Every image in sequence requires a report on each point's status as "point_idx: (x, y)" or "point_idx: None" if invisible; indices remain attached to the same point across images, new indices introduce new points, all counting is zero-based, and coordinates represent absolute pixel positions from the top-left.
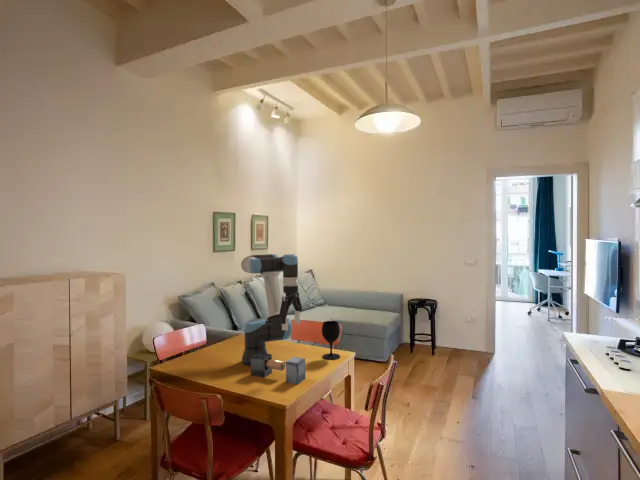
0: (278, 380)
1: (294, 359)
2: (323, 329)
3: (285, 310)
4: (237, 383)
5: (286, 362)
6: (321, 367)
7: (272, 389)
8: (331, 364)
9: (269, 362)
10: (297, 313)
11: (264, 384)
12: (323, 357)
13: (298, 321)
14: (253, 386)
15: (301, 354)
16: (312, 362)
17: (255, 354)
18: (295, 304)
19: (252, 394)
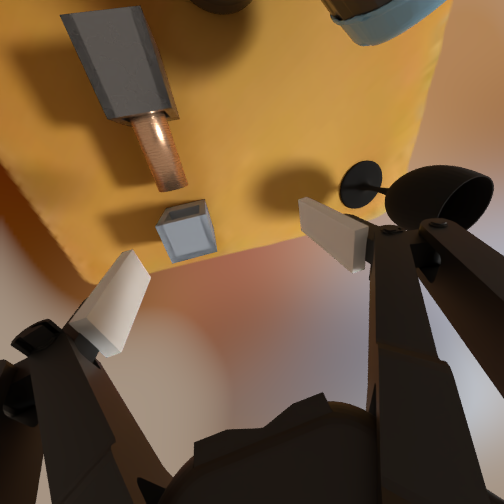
0: None
1: (190, 233)
2: (419, 193)
3: (35, 462)
4: (16, 72)
5: (156, 228)
6: (289, 212)
7: (107, 213)
8: None
9: (139, 138)
10: (339, 249)
11: (106, 170)
12: (347, 174)
13: (307, 230)
14: (65, 151)
15: (356, 85)
16: (309, 170)
17: (104, 14)
18: (371, 339)
19: (36, 194)
